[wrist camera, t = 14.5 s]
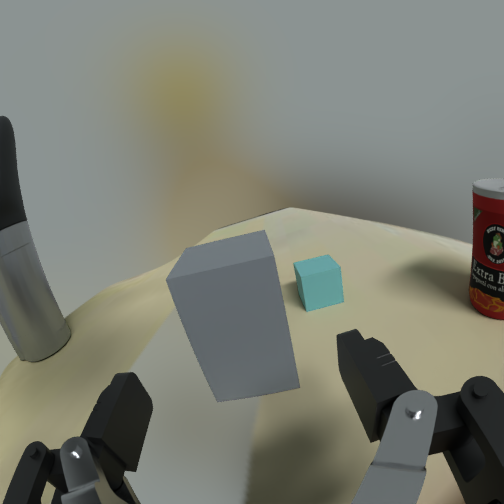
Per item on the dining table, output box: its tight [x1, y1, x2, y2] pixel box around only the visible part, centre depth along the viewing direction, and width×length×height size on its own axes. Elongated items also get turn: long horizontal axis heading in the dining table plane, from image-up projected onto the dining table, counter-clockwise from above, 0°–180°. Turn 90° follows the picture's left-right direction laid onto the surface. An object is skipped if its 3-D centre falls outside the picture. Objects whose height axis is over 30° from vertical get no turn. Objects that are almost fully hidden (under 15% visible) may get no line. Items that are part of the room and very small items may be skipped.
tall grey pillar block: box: [166, 230, 300, 402], centre depth 19 cm, size 6×6×10 cm
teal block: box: [293, 255, 344, 312], centre depth 28 cm, size 4×4×4 cm
